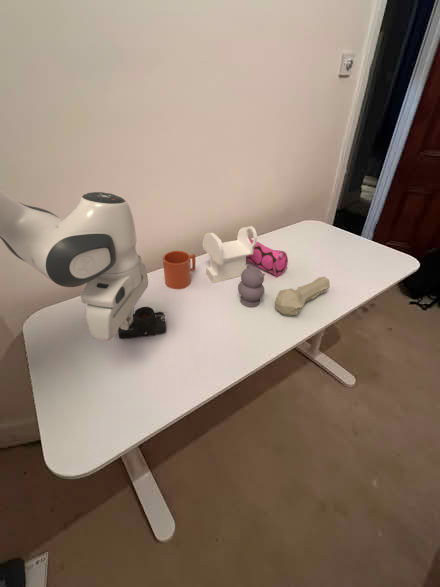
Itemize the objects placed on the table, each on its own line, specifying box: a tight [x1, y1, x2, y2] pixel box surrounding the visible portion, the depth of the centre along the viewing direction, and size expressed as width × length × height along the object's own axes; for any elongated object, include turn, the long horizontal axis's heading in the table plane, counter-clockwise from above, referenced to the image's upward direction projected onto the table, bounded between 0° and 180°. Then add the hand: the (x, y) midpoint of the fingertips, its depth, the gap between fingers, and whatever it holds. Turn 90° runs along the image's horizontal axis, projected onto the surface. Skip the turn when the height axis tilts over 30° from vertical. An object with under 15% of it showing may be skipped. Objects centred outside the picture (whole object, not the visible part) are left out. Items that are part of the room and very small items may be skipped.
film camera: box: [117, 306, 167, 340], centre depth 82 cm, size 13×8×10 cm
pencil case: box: [246, 234, 289, 277], centre depth 111 cm, size 21×10×10 cm, turn 45°
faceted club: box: [274, 276, 331, 316], centre depth 95 cm, size 9×8×25 cm
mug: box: [162, 250, 196, 290], centre depth 101 cm, size 12×9×10 cm
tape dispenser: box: [202, 225, 258, 284], centre depth 102 cm, size 14×13×18 cm
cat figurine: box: [237, 263, 266, 308], centre depth 92 cm, size 8×8×12 cm
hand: (127, 325), depth 69 cm, fingers closed
